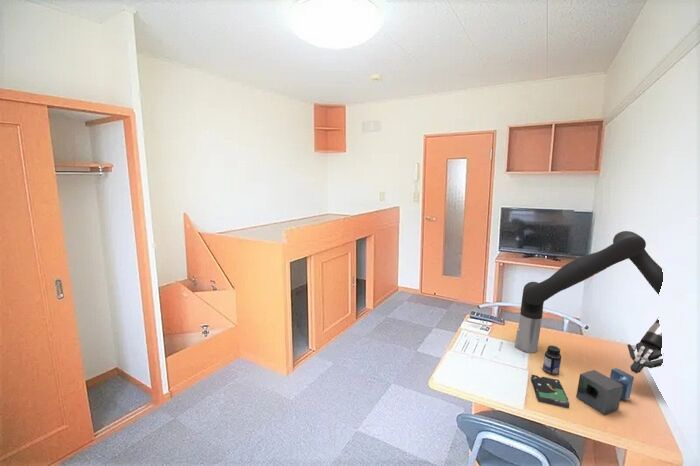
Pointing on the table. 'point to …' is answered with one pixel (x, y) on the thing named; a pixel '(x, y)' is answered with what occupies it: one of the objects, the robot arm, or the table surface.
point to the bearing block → (599, 392)
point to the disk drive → (549, 391)
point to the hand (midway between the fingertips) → (633, 371)
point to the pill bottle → (552, 360)
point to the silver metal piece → (621, 382)
